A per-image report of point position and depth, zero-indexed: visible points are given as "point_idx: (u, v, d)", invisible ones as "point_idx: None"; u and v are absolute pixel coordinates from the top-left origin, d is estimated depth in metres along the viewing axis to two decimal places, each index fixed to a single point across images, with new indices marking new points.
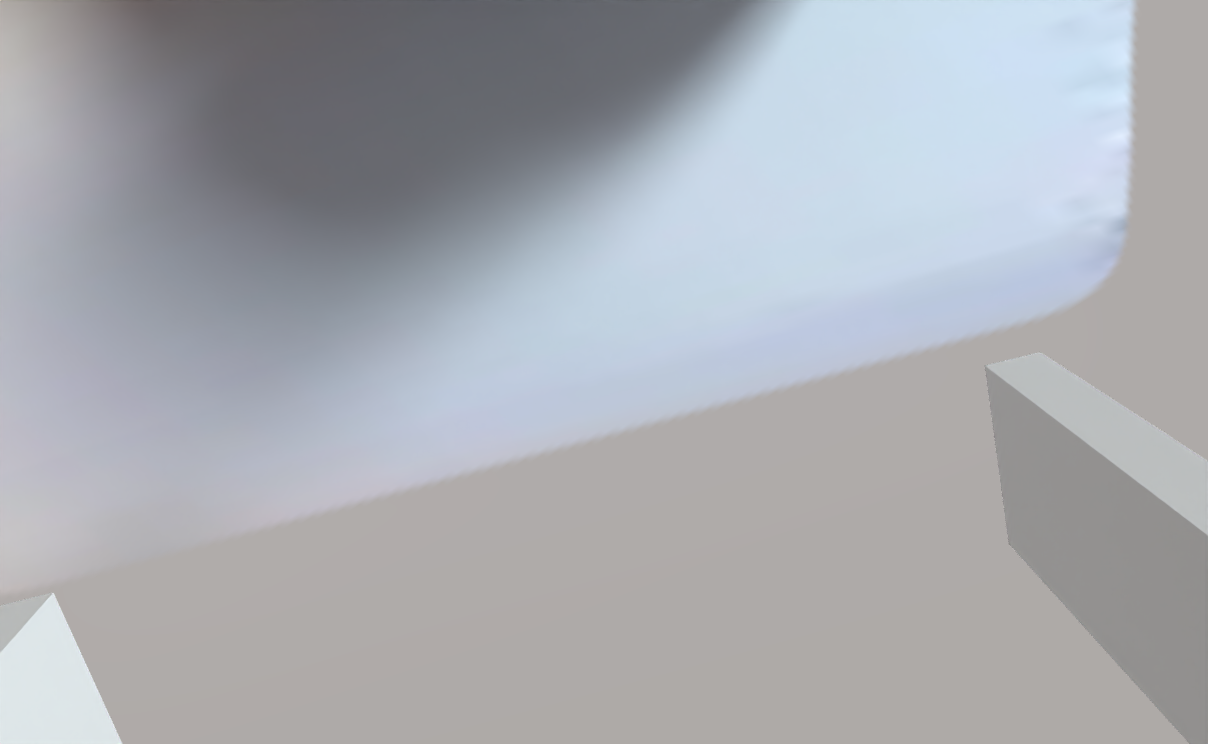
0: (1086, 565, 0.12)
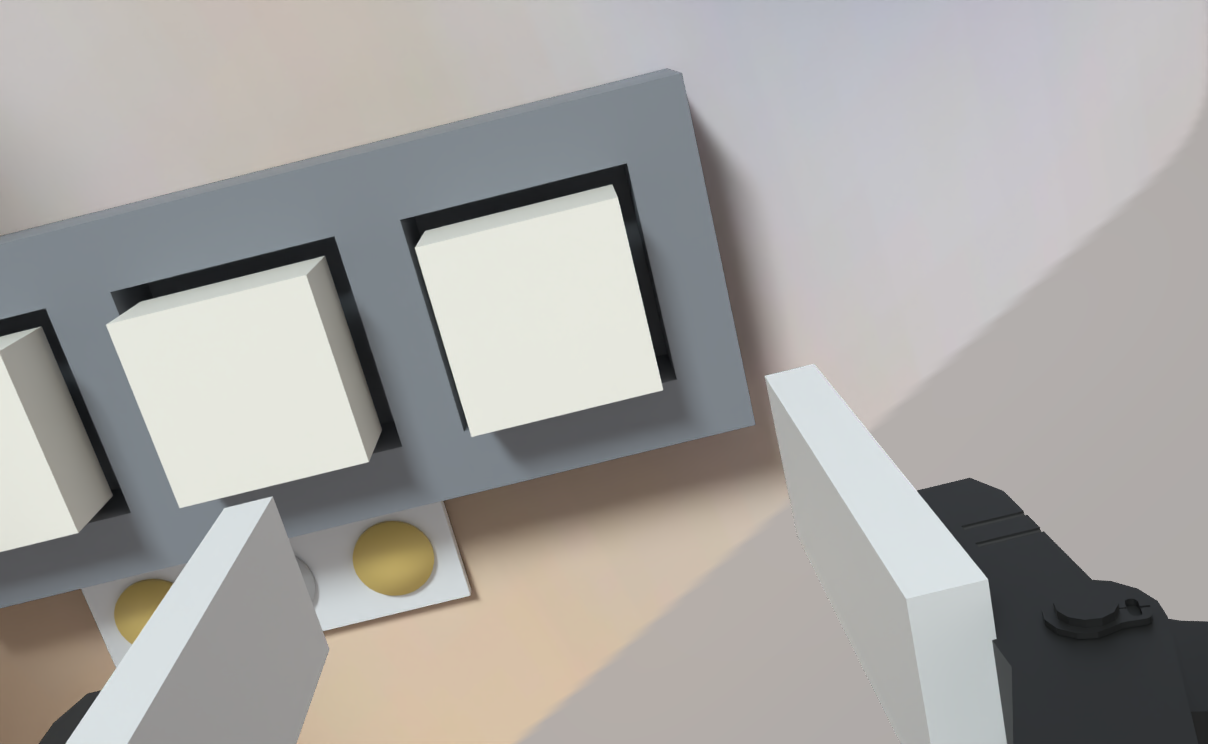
0: (825, 554, 0.14)
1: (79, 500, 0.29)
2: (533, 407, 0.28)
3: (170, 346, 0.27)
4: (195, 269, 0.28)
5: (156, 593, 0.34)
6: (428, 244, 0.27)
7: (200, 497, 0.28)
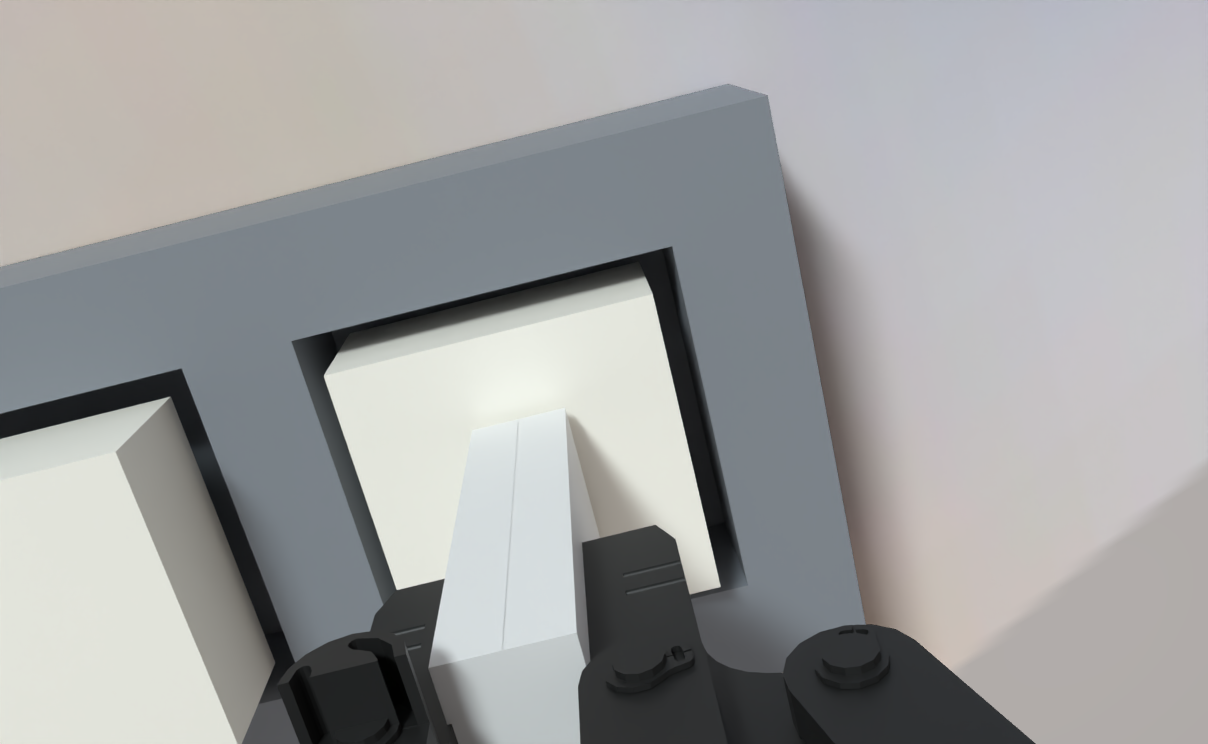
0: None
1: None
2: None
3: None
4: None
5: None
6: (345, 369, 0.16)
7: None
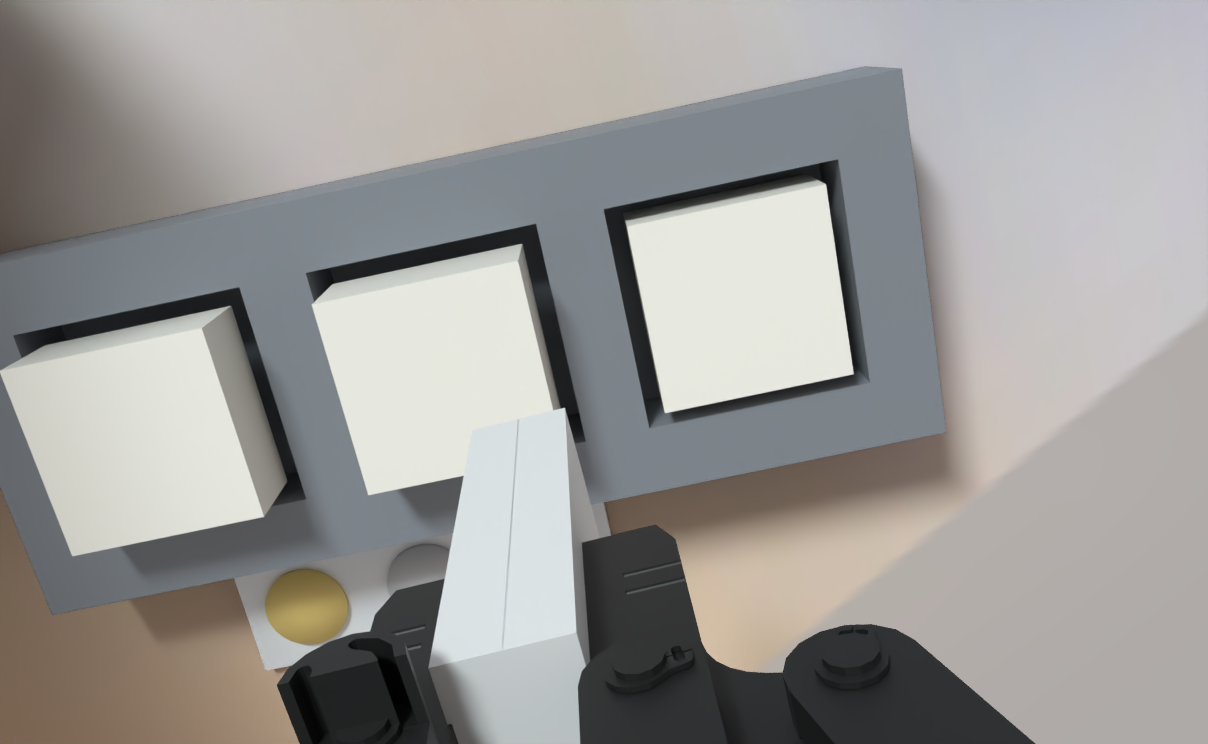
0: None
1: (263, 483, 0.28)
2: (726, 386, 0.29)
3: (374, 329, 0.27)
4: (393, 252, 0.28)
5: (309, 583, 0.34)
6: (640, 223, 0.28)
7: (390, 484, 0.28)
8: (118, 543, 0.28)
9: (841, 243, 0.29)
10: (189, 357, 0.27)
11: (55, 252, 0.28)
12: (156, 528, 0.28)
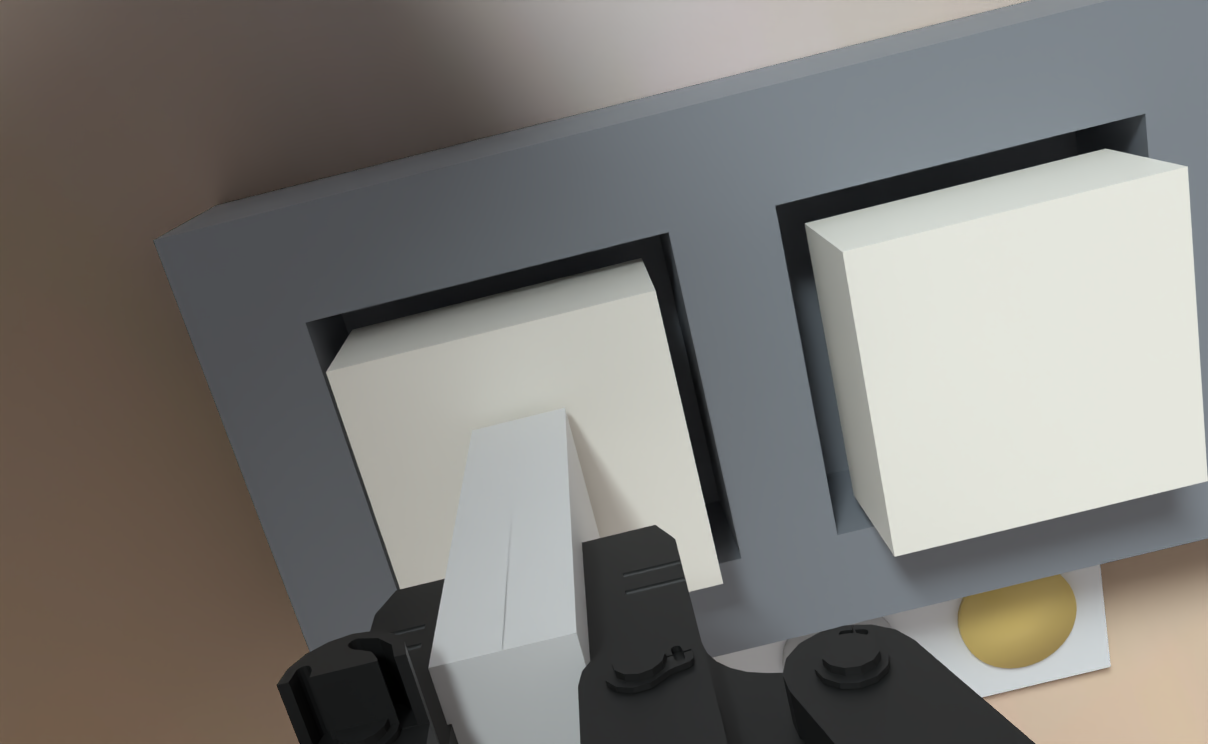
0: None
1: None
2: None
3: (939, 290, 0.16)
4: (915, 168, 0.18)
5: None
6: None
7: (930, 539, 0.17)
8: None
9: None
10: (632, 337, 0.17)
11: (380, 185, 0.17)
12: None
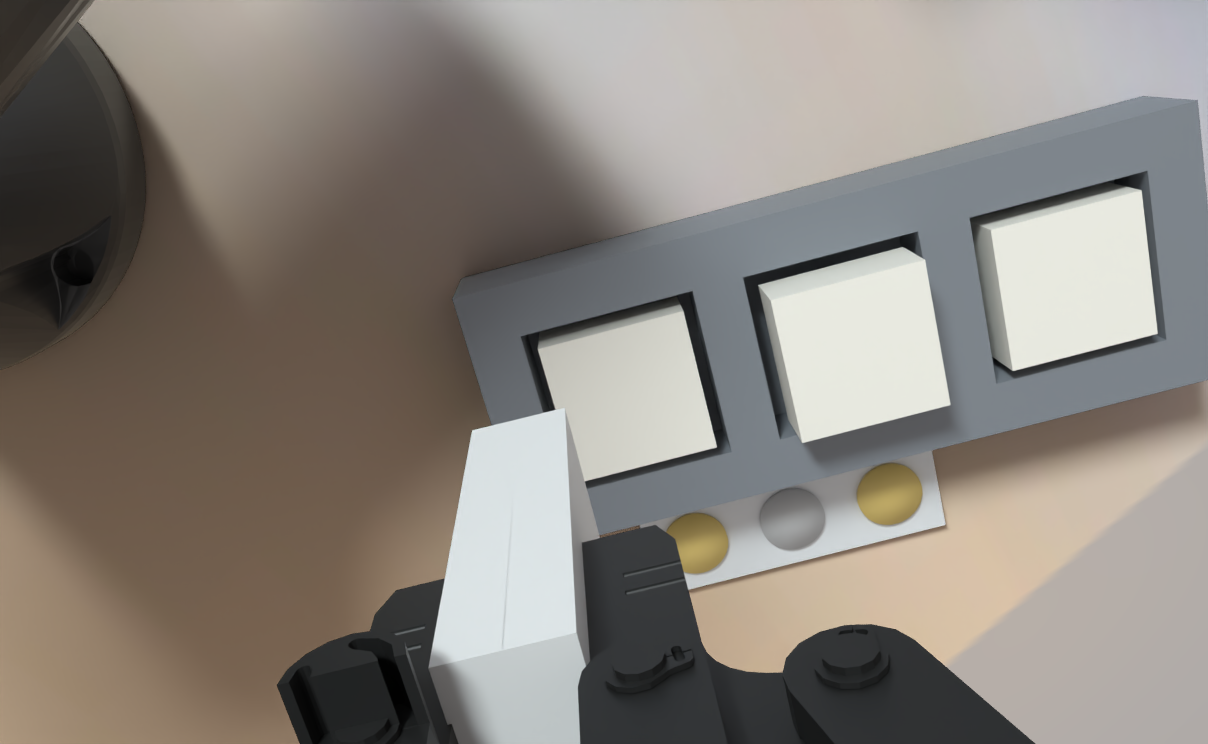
0: None
1: None
2: (1061, 347, 0.38)
3: (815, 316, 0.35)
4: (809, 258, 0.37)
5: (699, 524, 0.43)
6: (1000, 227, 0.36)
7: (819, 434, 0.37)
8: (610, 472, 0.38)
9: None
10: (673, 332, 0.37)
11: (557, 271, 0.37)
12: (639, 459, 0.38)
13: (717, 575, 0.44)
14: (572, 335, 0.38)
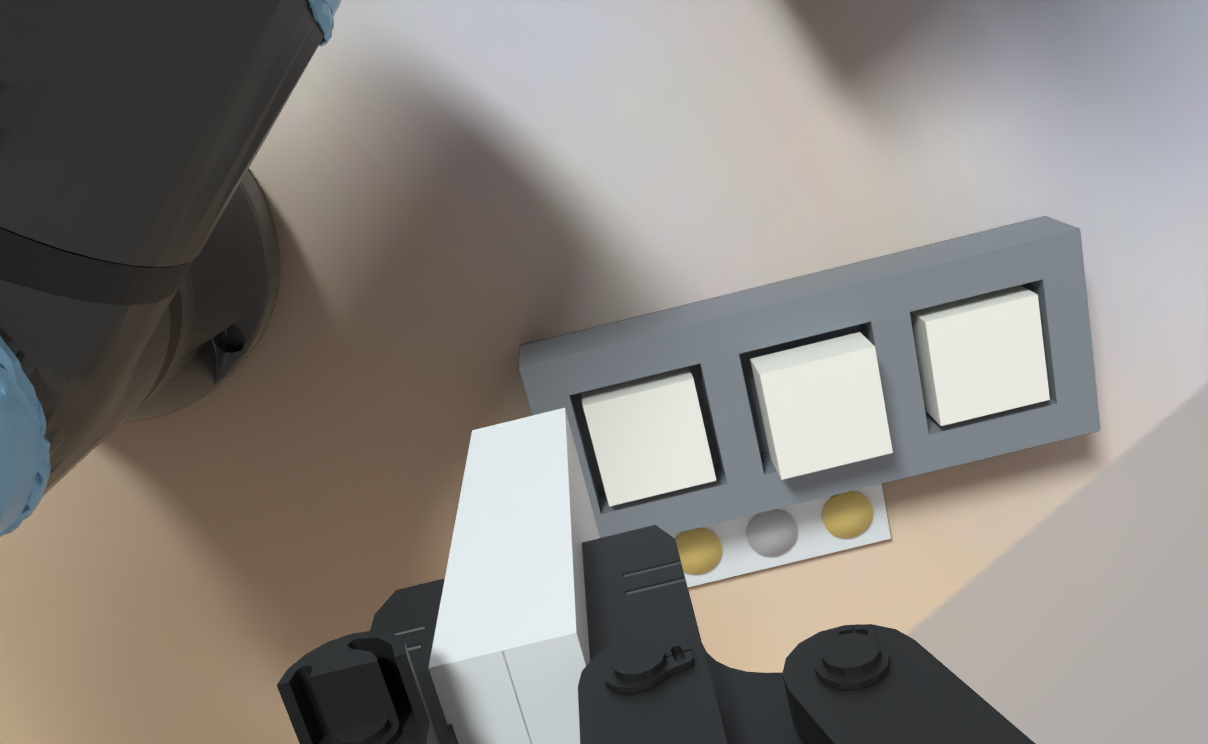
0: None
1: None
2: (977, 409, 0.50)
3: (793, 386, 0.47)
4: (789, 340, 0.49)
5: (700, 536, 0.55)
6: (932, 320, 0.49)
7: (794, 473, 0.49)
8: (635, 498, 0.50)
9: None
10: (685, 394, 0.49)
11: (599, 347, 0.48)
12: (657, 489, 0.50)
13: (713, 576, 0.56)
14: (608, 394, 0.49)
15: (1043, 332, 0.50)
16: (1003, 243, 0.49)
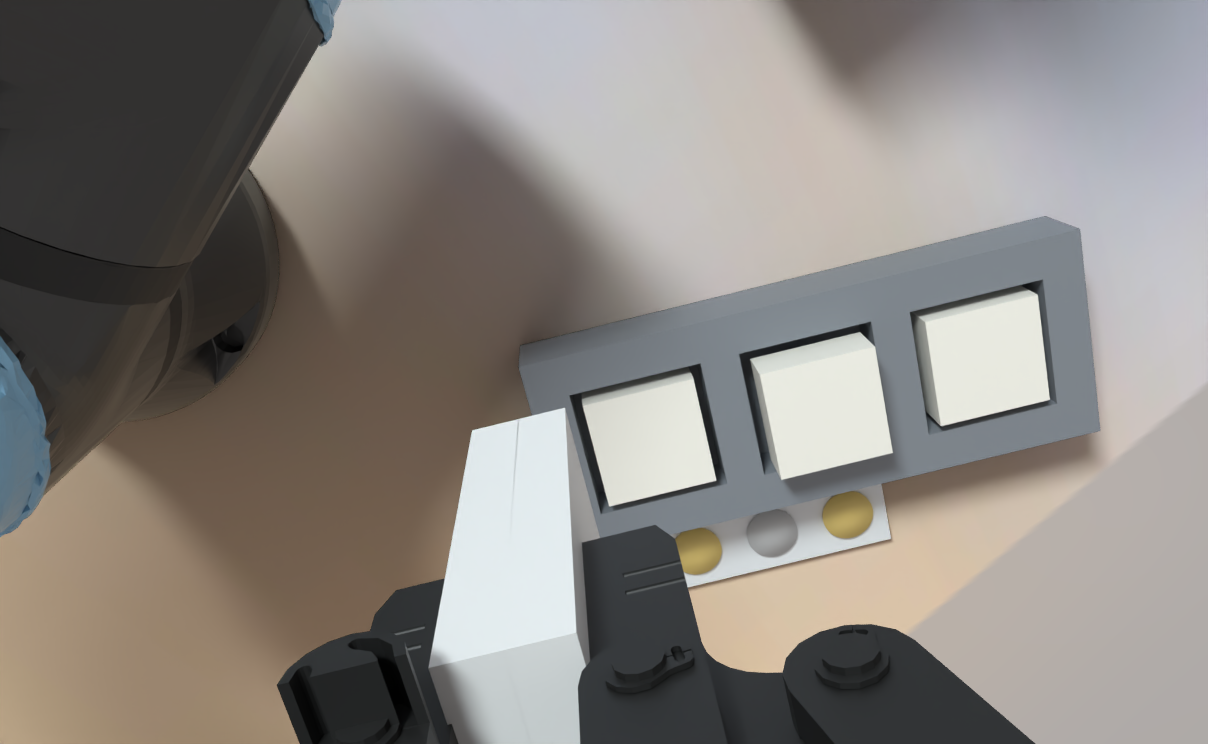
0: None
1: None
2: (977, 409, 0.50)
3: (793, 387, 0.47)
4: (789, 340, 0.49)
5: (700, 536, 0.55)
6: (932, 320, 0.49)
7: (794, 473, 0.49)
8: (635, 498, 0.50)
9: None
10: (685, 394, 0.49)
11: (599, 347, 0.48)
12: (657, 489, 0.50)
13: (713, 576, 0.56)
14: (608, 394, 0.49)
15: (1043, 332, 0.50)
16: (1003, 243, 0.49)
